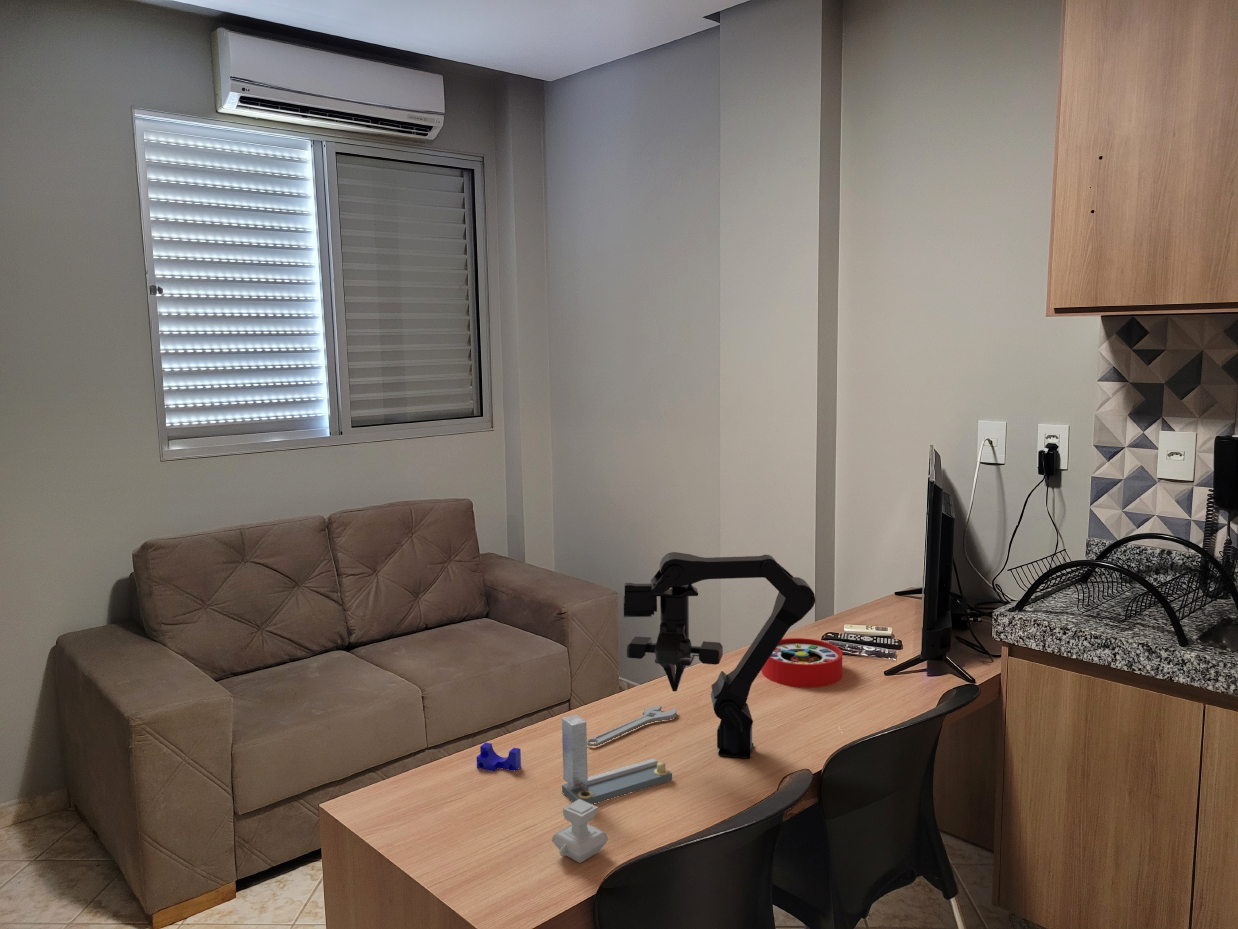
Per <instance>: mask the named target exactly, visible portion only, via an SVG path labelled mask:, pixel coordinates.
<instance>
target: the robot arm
mask: <svg viewBox="0 0 1238 929" xmlns="http://www.w3.org/2000/svg"><path fill="white" fill-rule="evenodd" d="M755 578H756V579H757V578H763V579H764V578H765V579H766V581H768V582H769V584H771V585H772V586H773V587H774V589H775V590H777V591H778V594H777V596H776V598H775V602H774V605H773V608H772V612H771V614H770V616H769V617H768V618H767V620H766V622H765V623H764V625H763V626H762V628H761V629H760V630H759V632H758V634H757V635H756V637H755V638H754V639H753V641H752V643H751V644H750V646H749V647H748V649H747V650H746V651H745V653H744V654H743V656H742V658H741V659H740V661H739V662H738V663H737V665H736V667H734V669H733V670H732V671H730V672H729V673H725V671H723V670H722V671H720V673H719V675H718V677H717V679H716V681H715V682H713V683H712V684H711V685H710V686H711V693H710V697H711V698H710V699H711V703H712V707H713V711H714V714H715V716H716V717H717V718H718V719H720V722H719V725H718V727H717V729H716V748H717V749H718V752H717V753H718V754H717V755H718V756H721V757H731V758H739V759H740V758H741V759H750V758H751V757H752V753H753V749H754V743H753V724H754V720H753V716H752V715H751V711H750V708H749V705H748V703H747V701H748V698H749V695H750V690H751V687H752V685H753V683H754V682H755V680H756V678H757V677H758V676H759V674H760V672H761V669H762V668H763V666H764V665H765V663H766V662H767V660H768V659H769V657H770V656H771V654H772V653H773V651H774V650H775V649H776V647H777V646H778V644H779V643H780V641H781V640H782V639H784V637H785V635H786V634H787V632H788V631H789V629H790V628H791V627H792V626H793V625H795V624H797V623H798V622H799V621H801V620H802V619H804V617H805V616H807V615H808V613H809V612H810V611H811V610H812V609H813V607H814V605H815V604H816V595H815V593H814V591H813V589H812V588H811V586H810V585H809V584H808V582H807V581H806V580H805V579H804V578H801V577H797V576H793V575H792V574H791V573H790V572H789V571H788V570H787V569H785V568H784V566H782V565H781V564H780V563H778V561H776V559H775V558H774V557H773V556H772V555H770V554H763V555H752V556H751V555H750V556H749V555H748V556H747V555H746V556H722V557H721V556H720V557H717V556H715V557H703V556H698V555H694V554H690V553H683V552H675V551H673V552H672V551H670V552H668V553H665V555H664V556H663V557H662V558H661V559H660V562H659V569H658V570H657V572H656V573H655V574H654V576H652V578H651V580H650V583H635V582H625V583H624V595H623V618H652V617H653V616H654V615H655V613H658V597H659V598H660V599H659V601H660V602H659V606H660V608H659V610H660V612H659V613H660V614H659V615H660V616H659V617H660V620H659V622H660V624H659V632H658V636H657V640H656V642H653V640H652V637H648V636H647V637H646V636H636V635H635V636H634V637H633V638H632V639H631V640H630V642H628V644H627V647H626V657H627V658H628V659H638V660H641V659H643V658H644V657H645V656H646V655H647V653H648V654H654V655H655V660H654V663H655V664H658V665H660V666H661V667H662V668H663V671H664V672H665V674H666V677H667V679H668V682H669V685H670V688H671V690H672V692H677V691H678V689H679V685H680V683H681V680H682V679H683V675H684V672H685V670H686V667H689V666H691V665H692V664H693V662H694V660H695V658H696V657H698V660H699V662H700V663H702V664H704V665H705V664H706V665H714V666H716V665H719V664H720V662H721V660H722V658H723V653H724V652H723V651H724V649H723V645H722V643H721V642H716V641H702V644H701V645H700V646H697V645H696V646H694V645H692V641H691V639H690V617H689V616H690V609H689V608H690V606H689V605H690V603H689V602H690V599H689V598H690V597H698V596H699V591H698V588H696V587H695V586H694V585H693V584H696V583H698V582H702V581H706V580H723V579H727V580H728V579H730V580H731V579H755Z"/></svg>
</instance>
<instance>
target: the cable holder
mask: <svg viewBox="0 0 1238 929" xmlns="http://www.w3.org/2000/svg"><path fill="white" fill-rule="evenodd" d="M476 768H477V769H479V770H480V769H481V770H484V771H485V770H486V771H490V772H496V771H497V770H498V769H501V768H503V769H502V770H506V769H509V770H508V771H511V770H515V771H514V772H517V771H518V770H519V769H520V768H522V759H521V748H517V747H513V748H512V749H511V750H509V751H508V756H507V757H503V756H500V755H498V754H497V753H496V752H495V750H494V748H493V743H491V742H484V743H483V744H481V745H480V754H478V755H477V756H476ZM497 768H498V769H497ZM518 768H519V769H518ZM496 769H497V770H496ZM495 770H496V771H495Z"/></svg>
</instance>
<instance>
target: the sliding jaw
mask: <svg viewBox="0 0 1238 929" xmlns="http://www.w3.org/2000/svg"><path fill="white" fill-rule="evenodd" d="M561 731H562V732H561V734H562V736H561V738H562V739H561V740H562V769H563V770H562V773H563V774H562V775H563V776H562V777H563V779H562V780H564V781H565V782H566V784H567V783H568V784H569V785H571V786H572V787H573V788H575V787H578V786H579V787H580V788H581V789H582V793H586V791H589V788H588V787H587V786H586V785H585V784H588V747H587V740H588V737H587V736H588V734H587V732H588V731H587V721H586V720H584V718H582V717H581V716H579V715H578V714H577V713H576V714H572V715H568V716H564V717H562V718H561Z"/></svg>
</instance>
